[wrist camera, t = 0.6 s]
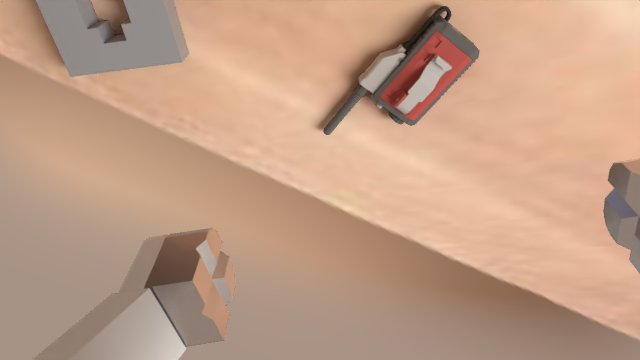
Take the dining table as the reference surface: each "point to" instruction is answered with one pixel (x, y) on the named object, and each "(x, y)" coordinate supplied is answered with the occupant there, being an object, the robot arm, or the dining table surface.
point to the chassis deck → (114, 36)
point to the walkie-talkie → (414, 72)
